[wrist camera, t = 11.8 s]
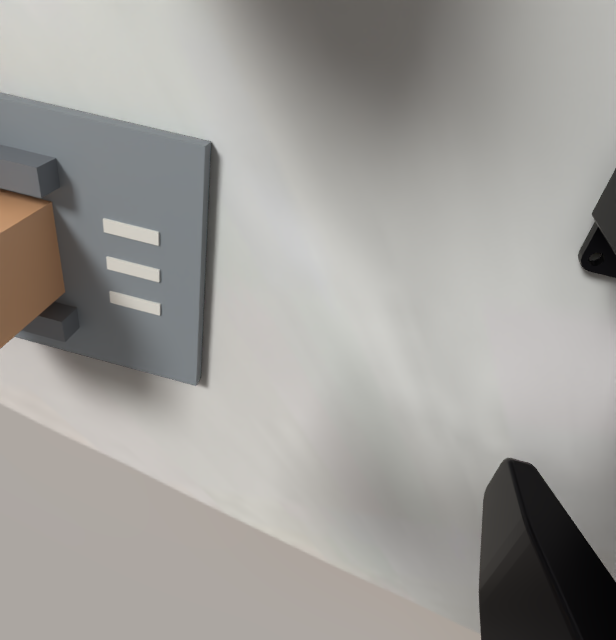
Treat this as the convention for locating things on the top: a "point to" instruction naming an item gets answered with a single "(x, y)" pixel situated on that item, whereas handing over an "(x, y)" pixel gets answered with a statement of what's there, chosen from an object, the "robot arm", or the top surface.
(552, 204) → the top surface
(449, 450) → the top surface
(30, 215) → the block
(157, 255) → the flat gray board
